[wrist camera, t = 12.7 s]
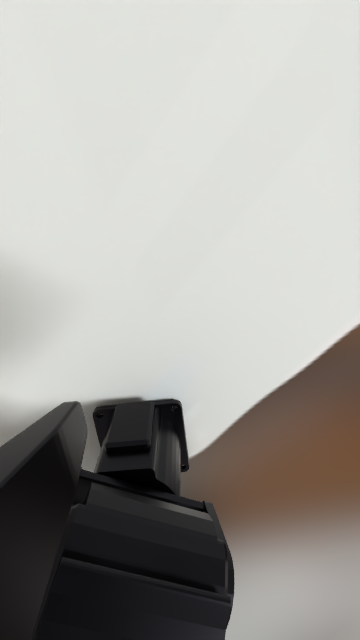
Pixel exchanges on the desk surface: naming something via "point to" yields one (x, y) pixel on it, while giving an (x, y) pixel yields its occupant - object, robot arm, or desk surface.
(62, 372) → the desk surface
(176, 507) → the robot arm
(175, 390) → the desk surface
